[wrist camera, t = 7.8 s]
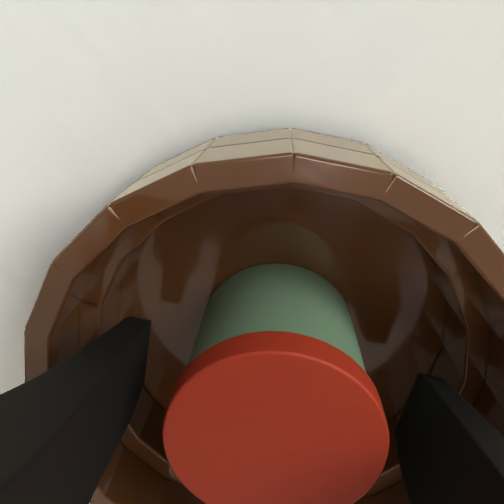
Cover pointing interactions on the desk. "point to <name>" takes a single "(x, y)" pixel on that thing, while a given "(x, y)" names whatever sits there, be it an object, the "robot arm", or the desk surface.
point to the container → (276, 397)
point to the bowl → (279, 252)
